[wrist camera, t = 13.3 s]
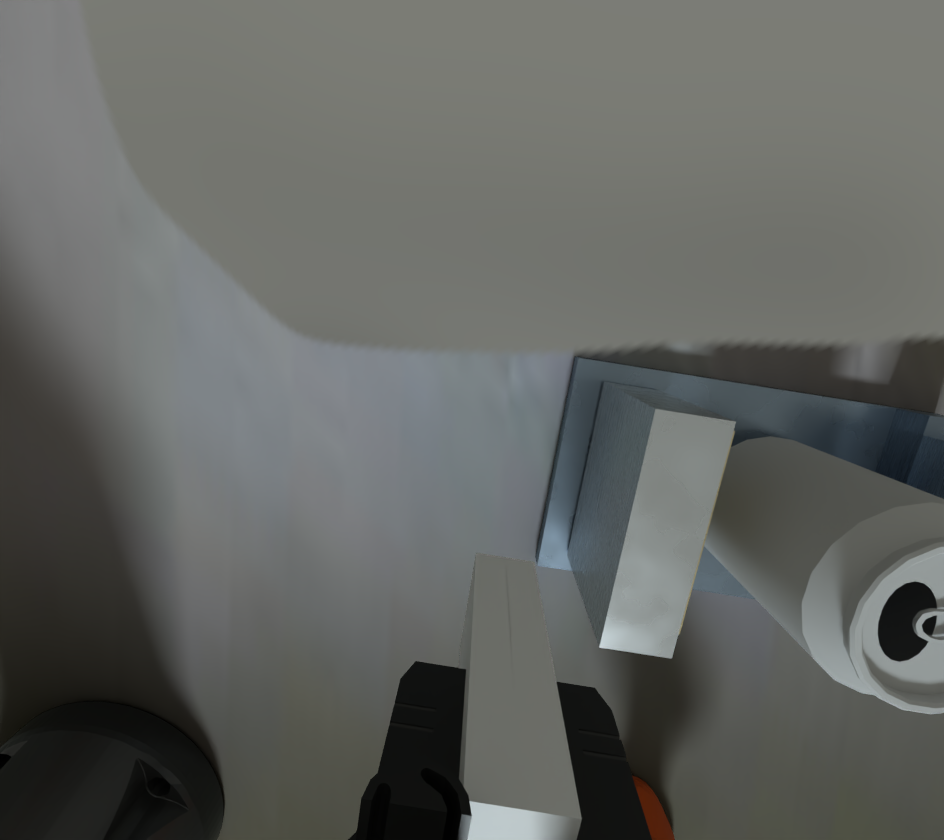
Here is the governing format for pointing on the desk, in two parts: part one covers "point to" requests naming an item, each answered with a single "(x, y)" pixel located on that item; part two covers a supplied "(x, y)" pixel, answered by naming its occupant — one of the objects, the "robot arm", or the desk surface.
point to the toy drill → (653, 812)
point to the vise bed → (757, 415)
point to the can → (839, 565)
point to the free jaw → (645, 514)
